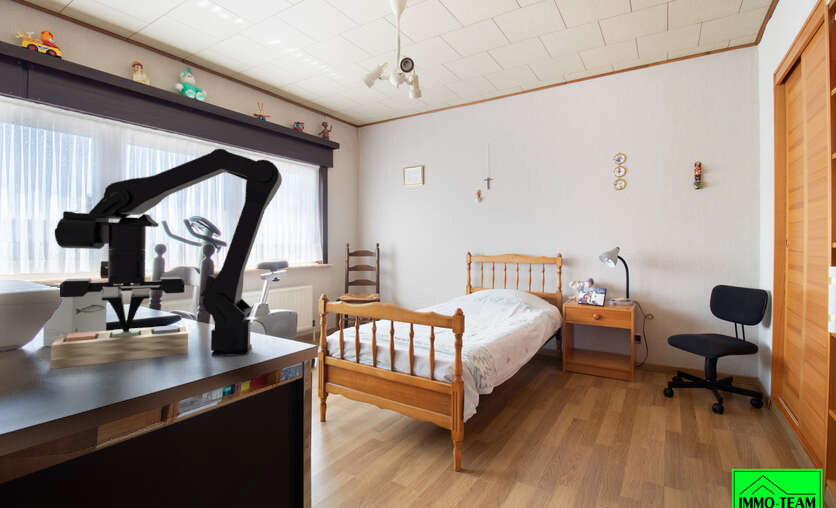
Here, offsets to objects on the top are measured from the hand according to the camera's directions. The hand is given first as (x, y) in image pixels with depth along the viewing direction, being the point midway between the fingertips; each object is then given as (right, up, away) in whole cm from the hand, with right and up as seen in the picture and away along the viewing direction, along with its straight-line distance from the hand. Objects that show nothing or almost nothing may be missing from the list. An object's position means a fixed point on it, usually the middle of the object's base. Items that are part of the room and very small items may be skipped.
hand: (126, 331), depth 76 cm
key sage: (0, -3, 0) cm, 2 cm away
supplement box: (-16, -4, +7) cm, 17 cm away
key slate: (+5, -3, +4) cm, 7 cm away
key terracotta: (-5, -2, -4) cm, 7 cm away
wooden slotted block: (0, -5, 0) cm, 5 cm away
